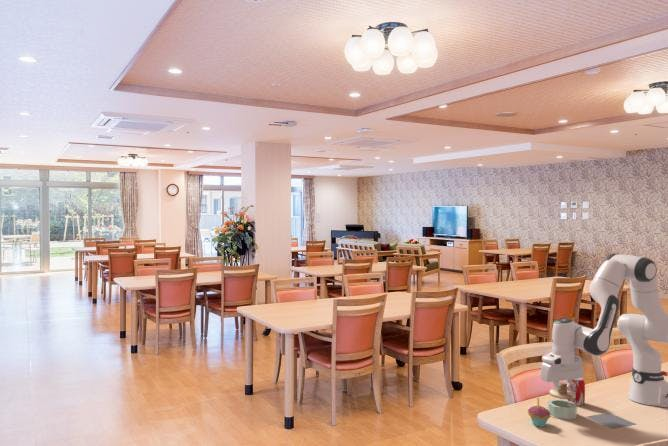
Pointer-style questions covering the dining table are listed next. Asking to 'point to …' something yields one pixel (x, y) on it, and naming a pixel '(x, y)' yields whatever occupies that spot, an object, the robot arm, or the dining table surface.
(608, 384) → the dining table surface
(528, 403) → the dining table surface
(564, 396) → the lid
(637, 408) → the dining table surface
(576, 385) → the soda can
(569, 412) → the bowl
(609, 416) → the mat
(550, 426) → the dining table surface
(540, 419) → the cupcake
